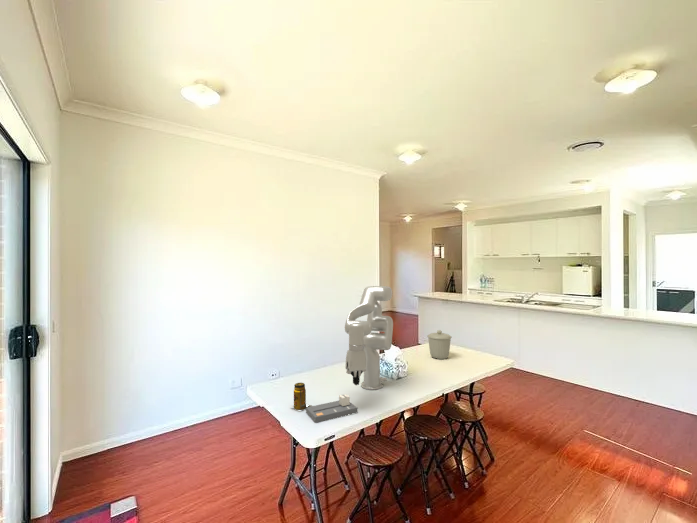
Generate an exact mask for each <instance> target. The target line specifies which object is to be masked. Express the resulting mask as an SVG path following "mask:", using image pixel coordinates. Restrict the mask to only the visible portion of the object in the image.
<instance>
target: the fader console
mask: <svg viewBox="0 0 697 523" xmlns="http://www.w3.org/2000/svg"><path fill="white" fill-rule="evenodd" d="M356 412H357V413H358V407H357V406H356V405H354V404H353V403H352V402H351V401H350V405H346V406H341V405H340V404H339V400H335V401H331V402H330V401H329V402H326V403H321V404H315V405H311V407H306V409H305V413H306V415H307V416H308V417H309V418H310V420H312V421H313V422H314V423H315V424H317V423H321V422H325V420H326V421H330V420H334V419H338V418H341V416H342V417H346V416H349V415H348V414H350V415H353V414H352V413H355V414H357V413H356ZM345 415H346V416H345ZM337 417H338V418H337ZM333 418H334V419H333ZM329 419H330V420H329Z"/></svg>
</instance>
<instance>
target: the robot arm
mask: <svg viewBox="0 0 697 523" xmlns="http://www.w3.org/2000/svg"><path fill="white" fill-rule="evenodd" d="M392 297H393V289H392V287H390V286H385V285H384V286H383V285H382V286H381V285H370V286H366V287H364V288H363V292H362V295H361V298H360V302H359V305H356V306H355V307H354V308H353V309H352V310H350V312H349V313H348V314H347V317H346V320H345V323H344V332H345V333H346V334H348V350H347V351H346V355H345V370H346V374H348V375H351V376H352V384H354V385H355V386H359V385H360V386H361V388H363V389H365V390H369V391H370V390H372V391H374V390H375V391H376V390H380V389H382V388H383V382H387V381H388V379H387V377H381V372H380V370H381V361H380V360H381V357H380V354H379V352H378V351H389V350H390V349H391V348H392V345H393V344H392V343H393V332H394V330H393V329H394V320H393V318H392V317H391V316H389V315H383V307H382V305H381V304H380V303H379V302H388V301H390V300H392ZM364 316H367V317H366V320H357V319H359V318H361V317H364ZM379 332H380V333H379ZM362 374H363V382H361V383H360V379H361V378H360V377H361V376H362Z"/></svg>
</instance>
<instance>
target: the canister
mask: <svg viewBox="0 0 697 523" xmlns="http://www.w3.org/2000/svg"><path fill="white" fill-rule="evenodd" d="M427 337H428V338H427V339H428V346H429V355H430V356H431V357H432V358H433V359H435V358H437V359H436V360H446V359H448V358H449V356H450V349H451V339H452V336H451V335H450V334H448V333H444V332H442V330H441V329H438V330H437V331H436V332H431V333H429V334H428V335H427Z"/></svg>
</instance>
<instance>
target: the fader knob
mask: <svg viewBox="0 0 697 523" xmlns="http://www.w3.org/2000/svg"><path fill="white" fill-rule="evenodd" d="M350 398H351V397H350V395H348V394H341V395H339V397H338V399H339V400H338V401H339V404H340V405H341V406H346V405H350V402H351V400H350Z"/></svg>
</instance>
